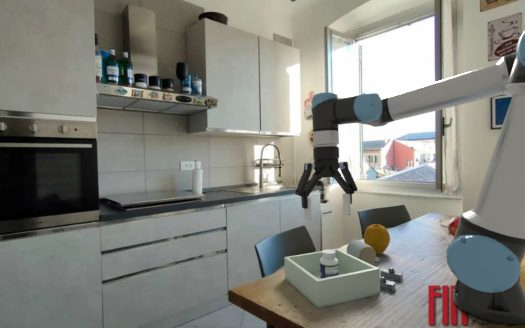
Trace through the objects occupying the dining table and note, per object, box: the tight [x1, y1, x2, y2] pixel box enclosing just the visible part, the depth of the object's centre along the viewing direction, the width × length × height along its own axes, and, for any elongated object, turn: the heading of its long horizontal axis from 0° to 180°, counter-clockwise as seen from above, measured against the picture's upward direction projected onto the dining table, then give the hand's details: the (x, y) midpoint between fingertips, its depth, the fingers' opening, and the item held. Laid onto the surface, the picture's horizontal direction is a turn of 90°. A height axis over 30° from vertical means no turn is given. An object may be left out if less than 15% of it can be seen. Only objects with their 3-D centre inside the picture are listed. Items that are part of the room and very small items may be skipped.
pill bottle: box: [320, 249, 339, 279], centre depth 86 cm, size 5×5×10 cm
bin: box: [283, 248, 381, 310], centre depth 86 cm, size 20×20×7 cm
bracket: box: [380, 267, 404, 293], centre depth 87 cm, size 11×6×3 cm, turn 140°
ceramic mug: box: [346, 239, 381, 265], centre depth 104 cm, size 11×8×8 cm
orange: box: [363, 223, 391, 256], centre depth 113 cm, size 10×10×12 cm
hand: (327, 217), depth 86 cm, fingers open, 13 cm apart
